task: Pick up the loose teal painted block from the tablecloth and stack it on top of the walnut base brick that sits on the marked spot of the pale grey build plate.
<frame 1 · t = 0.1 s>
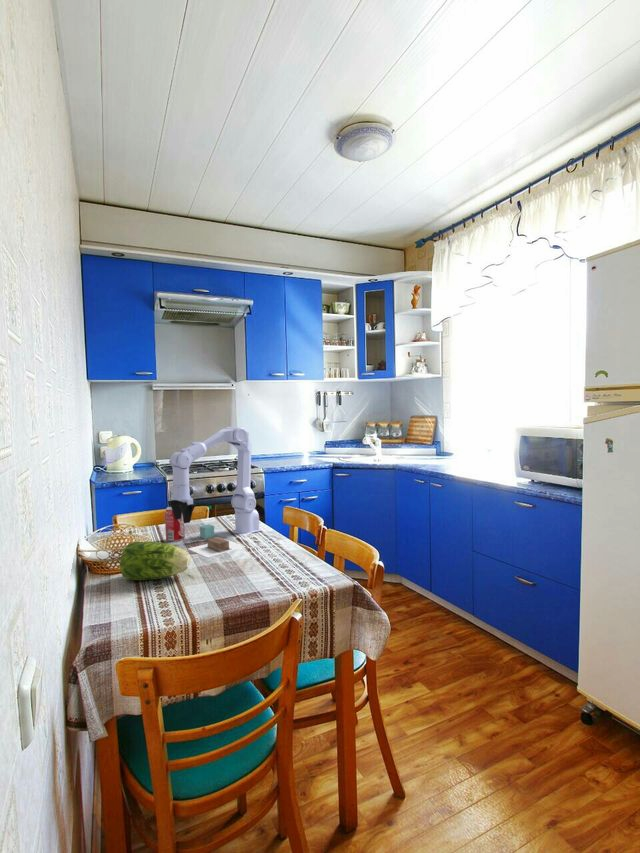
hand: (182, 520, 169), 10 cm above the table, tool pointing down, fingers open, 7 cm apart
lettuce: (157, 579, 140), on the table
soda can: (175, 541, 179), on the table
build plate: (216, 549, 167), on the table
base brick: (218, 548, 166), point 1 cm above the table, touching build plate
teal block: (207, 538, 181), on the table
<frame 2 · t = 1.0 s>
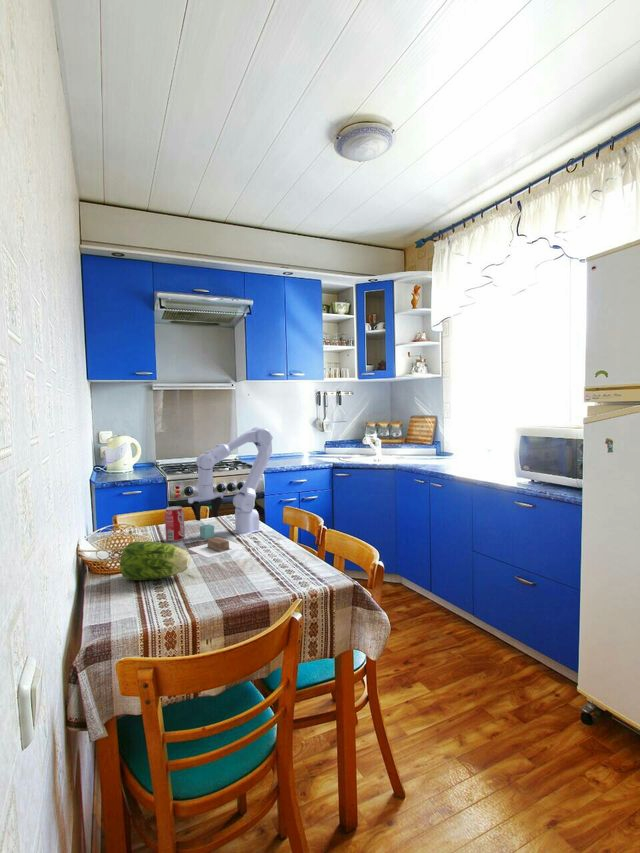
hand: (206, 518, 181), 8 cm above the table, tool pointing down, fingers open, 7 cm apart
nothing on the table moved.
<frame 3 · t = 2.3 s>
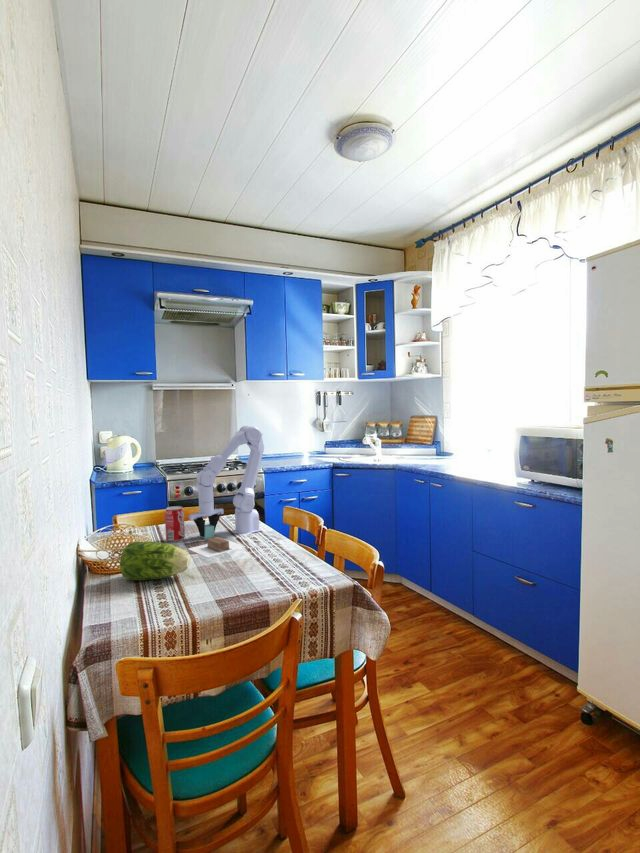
hand: (207, 534, 181), 1 cm above the table, tool pointing down, fingers closed on teal block, 4 cm apart
teal block: (207, 538, 181), on the table, touching gripper
everything else where it was.
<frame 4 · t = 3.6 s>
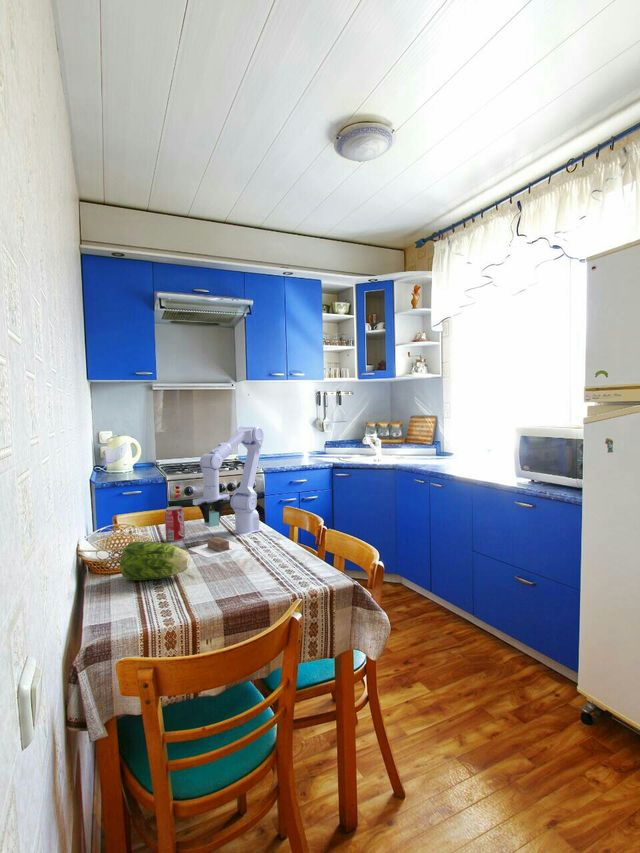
hand: (212, 521, 173), 9 cm above the table, tool pointing down, fingers closed on teal block, 4 cm apart
teal block: (211, 525, 173), point 7 cm above the table, touching gripper
everything else where it was.
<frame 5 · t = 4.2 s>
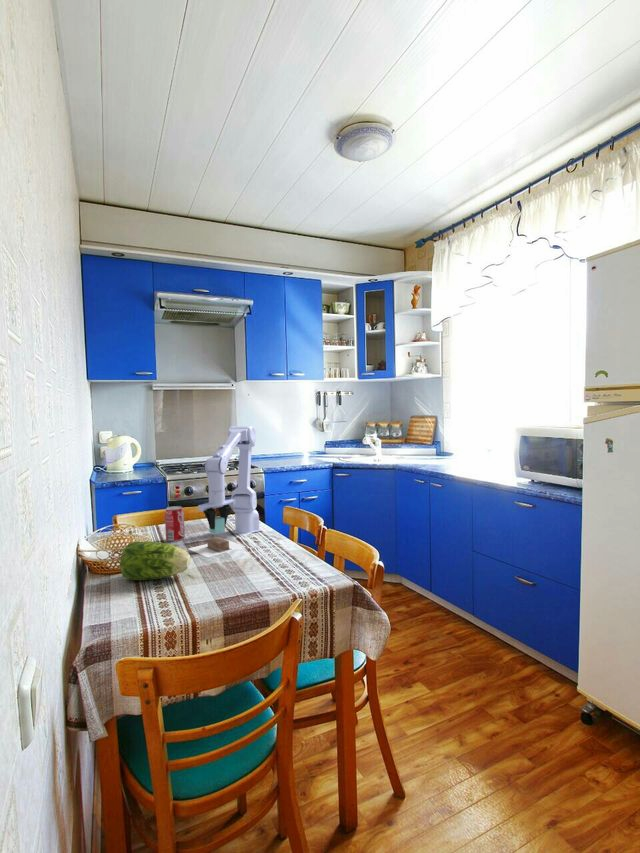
hand: (217, 527, 166), 8 cm above the table, tool pointing down, fingers closed on teal block, 4 cm apart
teal block: (217, 531, 166), point 7 cm above the table, touching gripper
everything else where it was.
when the fingers open (6 cm above the table, at t = 4.9 s): teal block stays where it is, resting on base brick.
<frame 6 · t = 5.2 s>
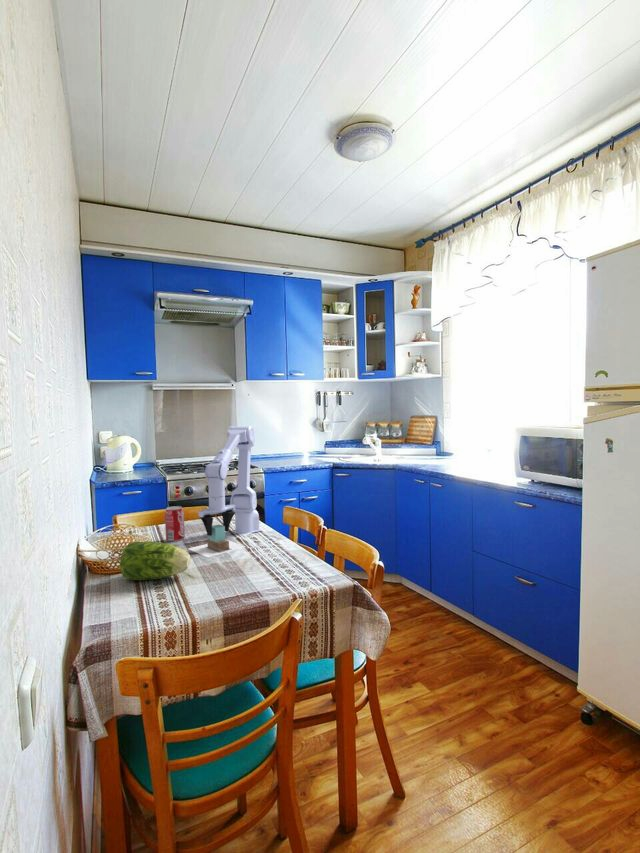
hand: (217, 533, 166), 6 cm above the table, tool pointing down, fingers open, 6 cm apart
base brick: (218, 548, 166), point 1 cm above the table, touching build plate, teal block
teal block: (217, 539, 166), point 4 cm above the table, touching base brick
everything else where it was.
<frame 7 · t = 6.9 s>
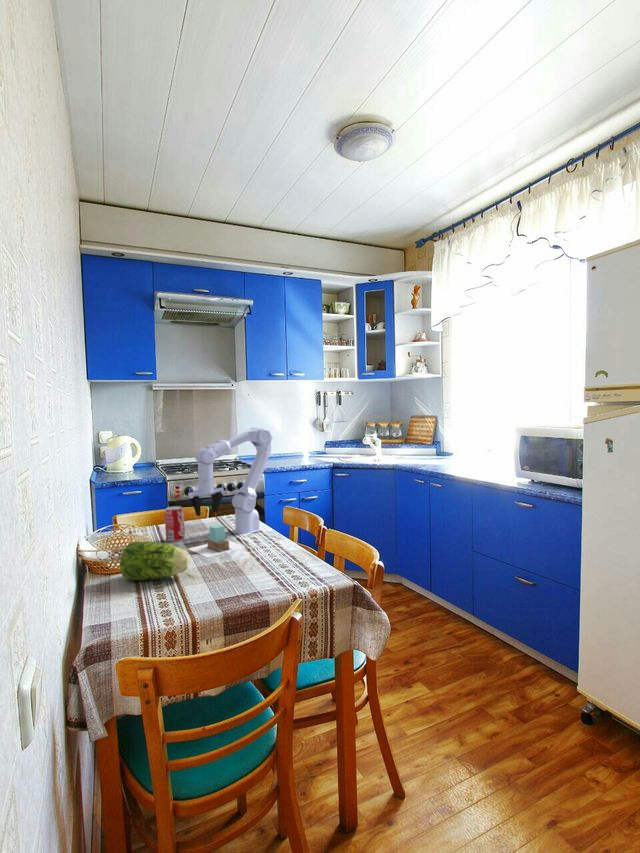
hand: (207, 513, 179), 10 cm above the table, tool pointing down, fingers open, 7 cm apart
nothing on the table moved.
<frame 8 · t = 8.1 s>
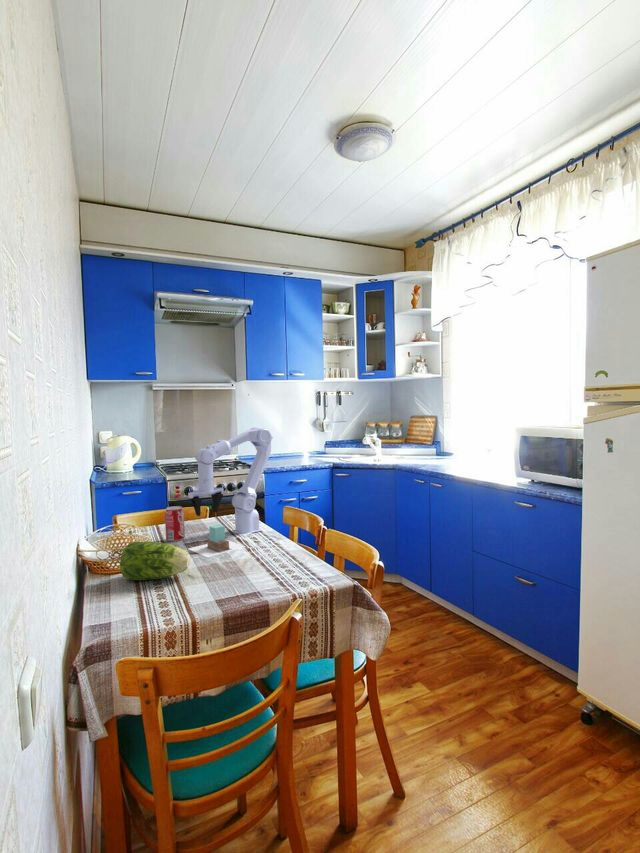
hand: (207, 513, 179), 10 cm above the table, tool pointing down, fingers open, 7 cm apart
nothing on the table moved.
at the end: teal block 0.4 cm off-centre on the base brick, point 3.0 cm above the base brick's base; teal block tilted 0°; the gripper is holding nothing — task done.
